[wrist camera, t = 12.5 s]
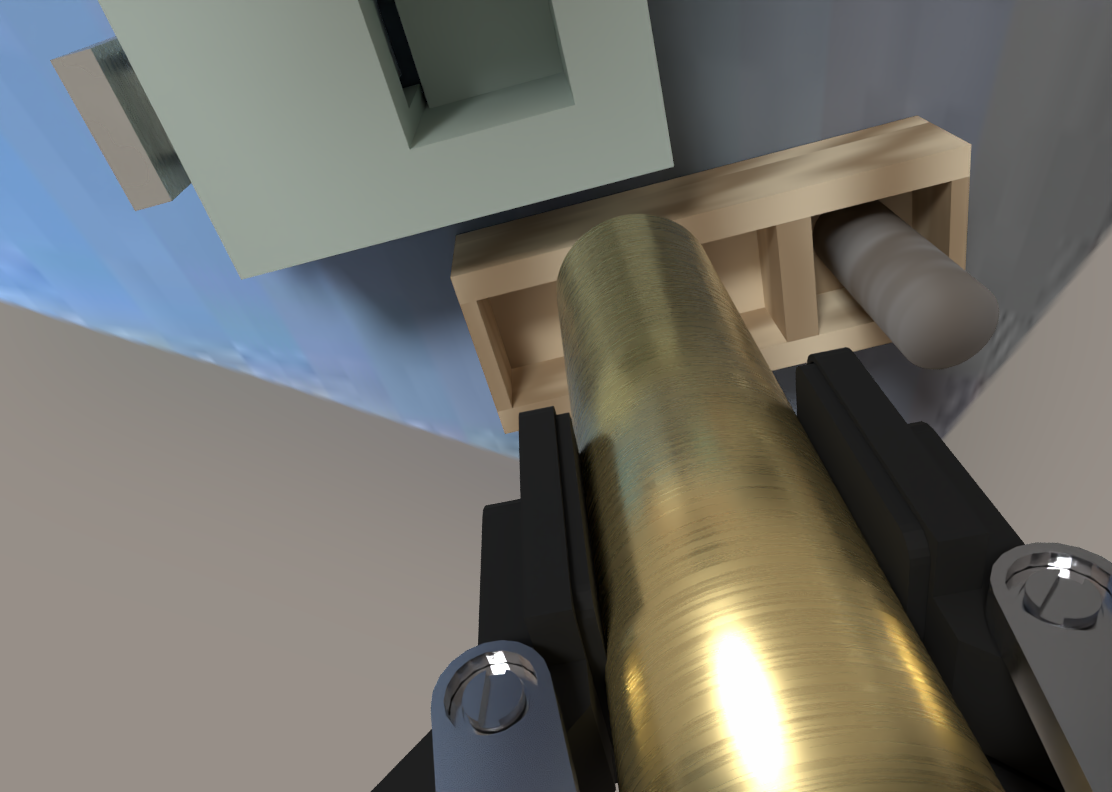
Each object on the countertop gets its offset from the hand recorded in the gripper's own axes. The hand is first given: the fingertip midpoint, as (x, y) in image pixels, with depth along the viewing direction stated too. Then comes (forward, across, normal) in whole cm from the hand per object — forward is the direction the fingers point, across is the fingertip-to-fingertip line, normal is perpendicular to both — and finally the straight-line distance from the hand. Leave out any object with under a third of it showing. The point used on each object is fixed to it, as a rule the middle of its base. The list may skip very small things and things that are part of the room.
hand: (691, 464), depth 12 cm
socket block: (+20, +5, -5) cm, 21 cm away
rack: (+20, -4, +6) cm, 21 cm away
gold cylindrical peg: (+6, 0, 0) cm, 6 cm away
